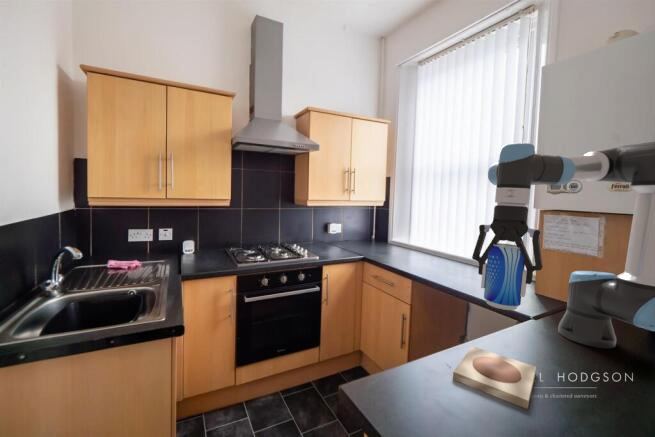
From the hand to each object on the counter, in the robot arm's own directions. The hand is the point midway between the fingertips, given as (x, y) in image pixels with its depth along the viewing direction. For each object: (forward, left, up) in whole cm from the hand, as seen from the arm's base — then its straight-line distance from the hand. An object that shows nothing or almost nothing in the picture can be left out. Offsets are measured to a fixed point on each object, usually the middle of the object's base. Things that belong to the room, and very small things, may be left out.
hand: (502, 291), depth 80 cm
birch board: (0, +3, -22) cm, 22 cm away
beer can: (0, 0, -4) cm, 4 cm away
